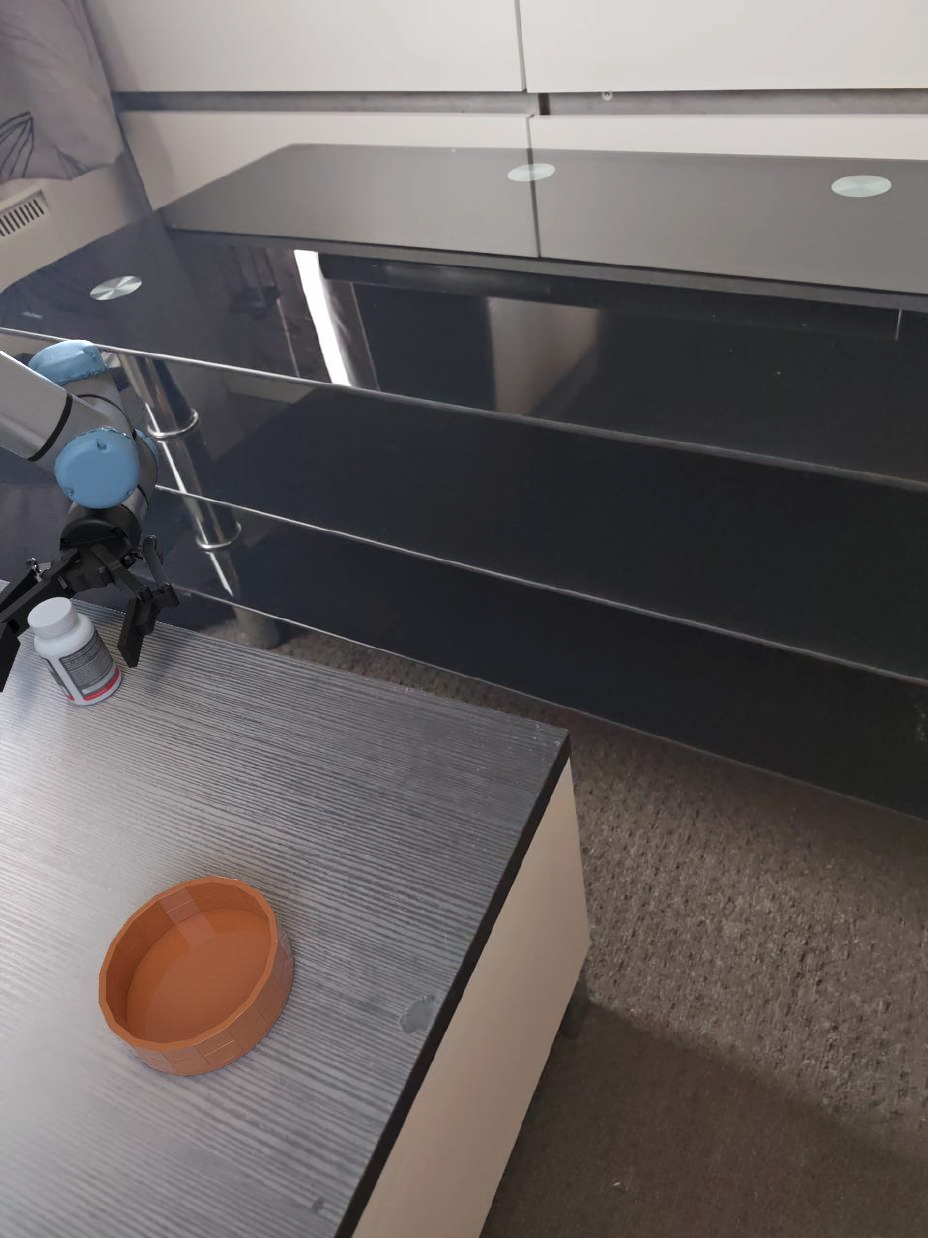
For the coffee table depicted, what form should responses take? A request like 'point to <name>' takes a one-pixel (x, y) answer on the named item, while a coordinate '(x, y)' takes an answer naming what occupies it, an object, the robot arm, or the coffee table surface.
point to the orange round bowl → (197, 976)
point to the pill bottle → (73, 652)
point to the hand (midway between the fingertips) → (58, 670)
